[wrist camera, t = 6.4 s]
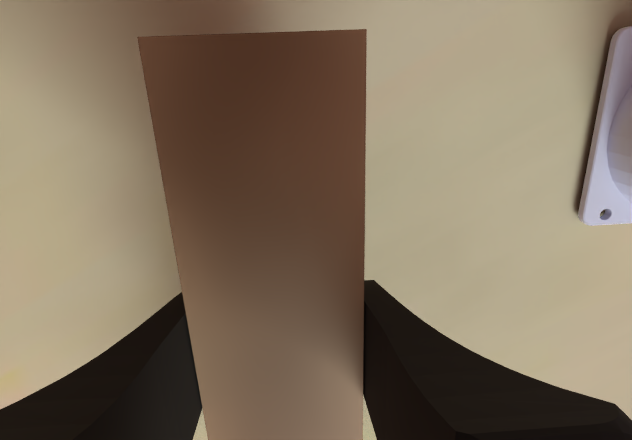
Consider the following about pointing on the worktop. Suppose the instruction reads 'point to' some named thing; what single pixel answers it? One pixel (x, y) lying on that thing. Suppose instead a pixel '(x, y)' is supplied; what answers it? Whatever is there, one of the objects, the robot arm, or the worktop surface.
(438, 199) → the worktop surface
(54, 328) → the worktop surface
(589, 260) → the worktop surface
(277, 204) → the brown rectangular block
